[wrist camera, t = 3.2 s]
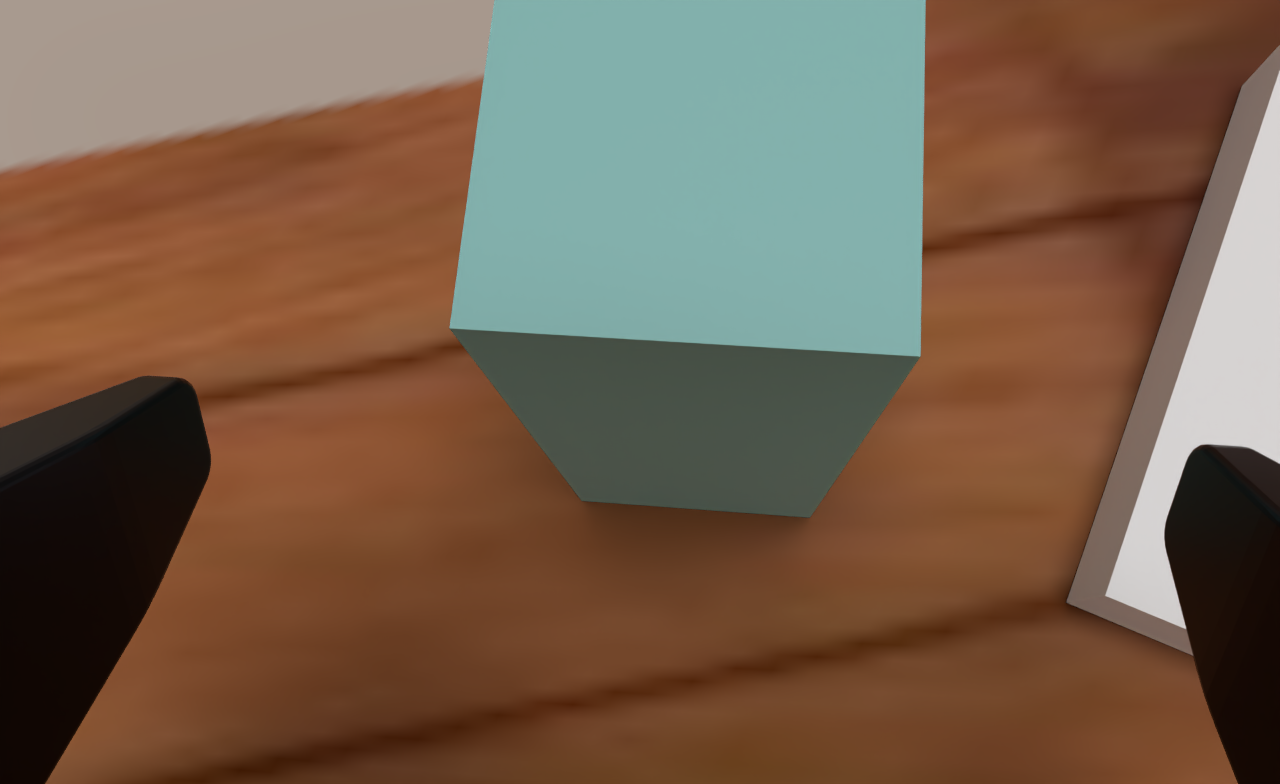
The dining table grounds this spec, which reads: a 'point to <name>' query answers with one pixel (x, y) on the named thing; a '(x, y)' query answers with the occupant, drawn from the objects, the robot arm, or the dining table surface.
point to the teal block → (697, 240)
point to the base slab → (1198, 373)
